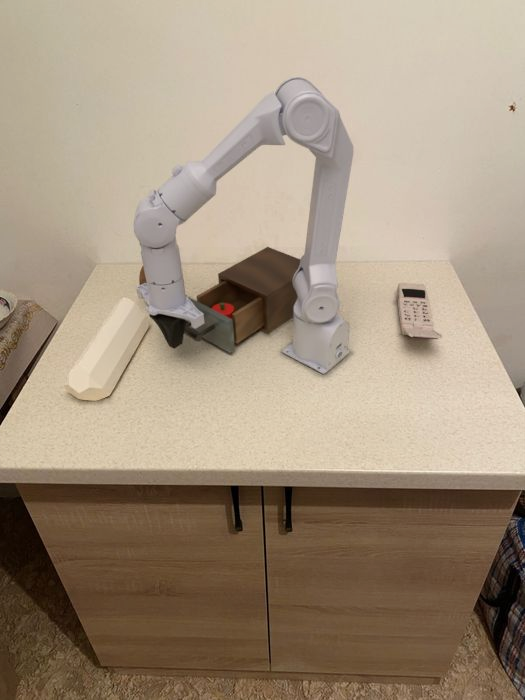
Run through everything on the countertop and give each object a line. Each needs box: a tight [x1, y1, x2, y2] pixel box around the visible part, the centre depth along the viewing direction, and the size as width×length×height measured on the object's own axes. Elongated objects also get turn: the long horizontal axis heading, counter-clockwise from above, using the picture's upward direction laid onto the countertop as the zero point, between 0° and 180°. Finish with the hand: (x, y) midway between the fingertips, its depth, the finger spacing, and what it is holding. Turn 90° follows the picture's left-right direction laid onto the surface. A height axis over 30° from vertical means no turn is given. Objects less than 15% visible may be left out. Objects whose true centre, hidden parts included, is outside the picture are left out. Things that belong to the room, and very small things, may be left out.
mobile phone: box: [396, 282, 443, 340], centre depth 96 cm, size 6×6×25 cm
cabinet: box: [217, 246, 301, 335], centre depth 101 cm, size 15×13×9 cm
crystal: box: [63, 296, 150, 402], centre depth 89 cm, size 7×7×24 cm
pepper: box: [212, 303, 234, 319], centre depth 93 cm, size 4×4×5 cm
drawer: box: [184, 280, 265, 354], centre depth 94 cm, size 18×11×7 cm, turn 138°
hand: (175, 344), depth 87 cm, fingers closed
